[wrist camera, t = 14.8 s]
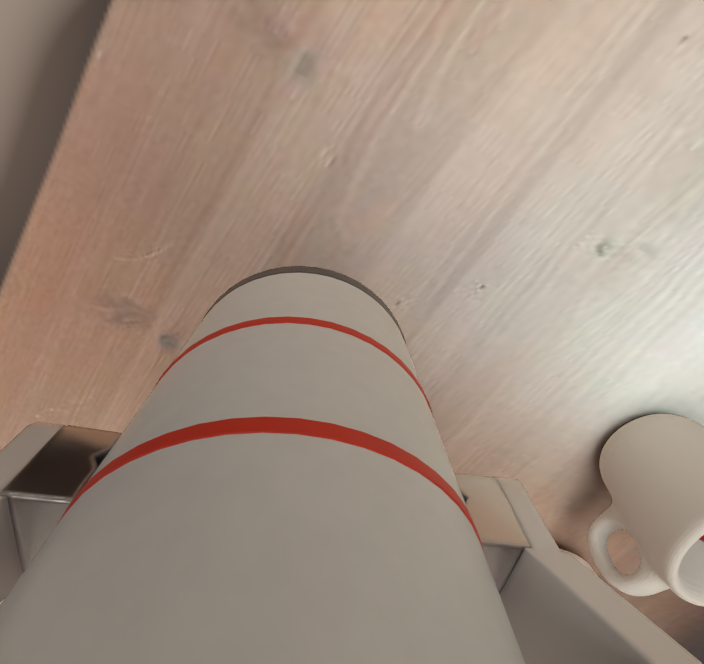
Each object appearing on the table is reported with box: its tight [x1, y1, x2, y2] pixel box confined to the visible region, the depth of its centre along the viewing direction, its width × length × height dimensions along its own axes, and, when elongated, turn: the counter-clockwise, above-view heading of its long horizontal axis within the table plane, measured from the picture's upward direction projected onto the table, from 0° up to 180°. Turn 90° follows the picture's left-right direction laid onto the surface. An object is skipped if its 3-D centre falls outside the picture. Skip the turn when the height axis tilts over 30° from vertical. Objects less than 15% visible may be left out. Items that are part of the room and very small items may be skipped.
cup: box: [587, 414, 704, 606], centre depth 24 cm, size 11×8×8 cm
